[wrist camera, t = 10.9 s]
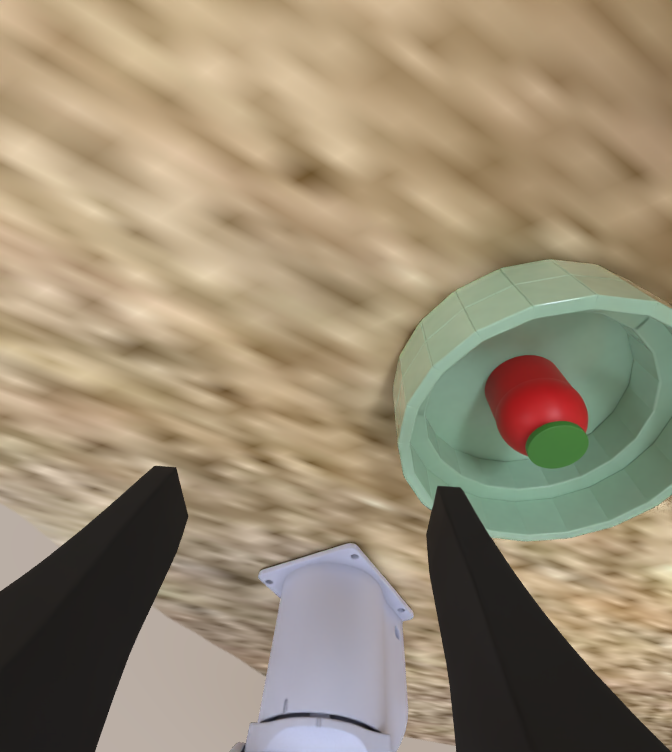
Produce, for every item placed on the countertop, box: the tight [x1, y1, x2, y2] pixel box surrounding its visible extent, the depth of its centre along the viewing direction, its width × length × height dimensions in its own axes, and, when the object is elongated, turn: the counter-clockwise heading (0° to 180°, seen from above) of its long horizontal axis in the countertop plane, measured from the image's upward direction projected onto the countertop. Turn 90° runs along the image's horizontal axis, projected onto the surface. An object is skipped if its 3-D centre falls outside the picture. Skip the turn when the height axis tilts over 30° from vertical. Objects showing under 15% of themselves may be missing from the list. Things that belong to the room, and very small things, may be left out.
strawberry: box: [485, 355, 589, 469], centre depth 17 cm, size 4×4×4 cm
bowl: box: [393, 259, 672, 541], centre depth 18 cm, size 12×12×4 cm
